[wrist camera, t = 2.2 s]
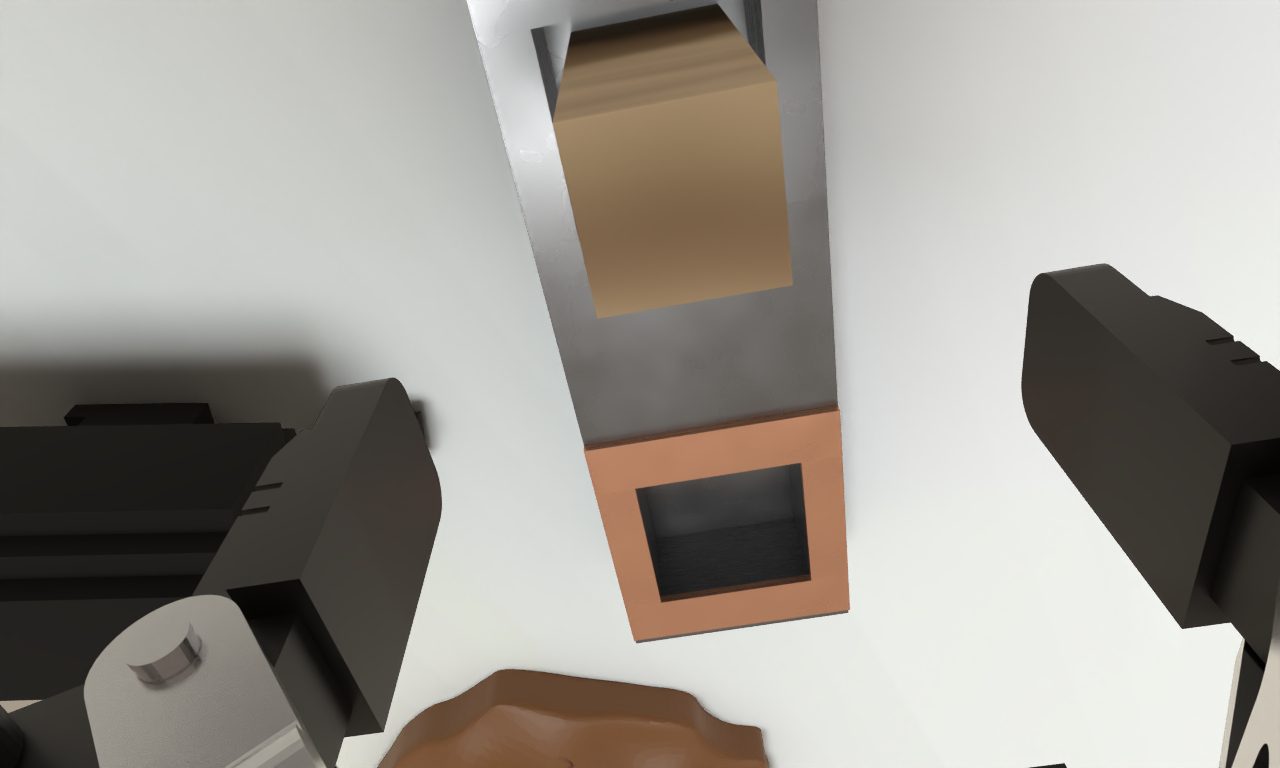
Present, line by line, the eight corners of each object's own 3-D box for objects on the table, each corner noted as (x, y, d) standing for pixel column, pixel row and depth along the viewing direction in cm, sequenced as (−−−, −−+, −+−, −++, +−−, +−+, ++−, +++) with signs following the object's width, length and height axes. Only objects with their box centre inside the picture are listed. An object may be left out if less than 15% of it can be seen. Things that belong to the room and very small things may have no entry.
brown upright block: (571, 32, 22) (552, 122, 15) (718, 3, 22) (777, 80, 14) (600, 174, 24) (597, 318, 17) (734, 150, 24) (793, 285, 16)
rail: (472, -82, 22) (445, -69, 18) (776, -144, 21) (811, -144, 17) (633, 566, 34) (636, 649, 31) (824, 537, 34) (850, 618, 30)
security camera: (440, 497, 32) (381, 724, 24) (-44, 506, 32) (-281, 743, 23) (414, 343, 28) (334, 548, 20) (-135, 351, 28) (-458, 566, 19)
